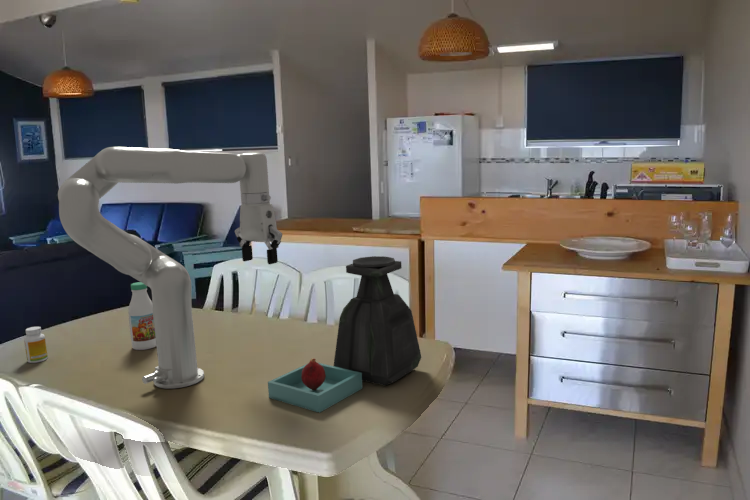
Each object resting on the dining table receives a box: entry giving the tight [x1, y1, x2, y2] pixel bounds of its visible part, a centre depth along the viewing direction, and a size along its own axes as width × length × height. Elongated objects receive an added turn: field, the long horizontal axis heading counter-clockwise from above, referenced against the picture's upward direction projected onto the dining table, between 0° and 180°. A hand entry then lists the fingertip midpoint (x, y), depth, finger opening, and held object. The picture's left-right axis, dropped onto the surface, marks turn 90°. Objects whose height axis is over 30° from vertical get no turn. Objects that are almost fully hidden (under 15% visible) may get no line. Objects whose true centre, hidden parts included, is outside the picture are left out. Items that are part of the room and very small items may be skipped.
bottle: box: [333, 255, 422, 387], centre depth 158 cm, size 18×16×30 cm
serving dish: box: [267, 362, 363, 413], centre depth 149 cm, size 16×16×4 cm
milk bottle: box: [127, 281, 157, 351], centre depth 189 cm, size 8×8×20 cm
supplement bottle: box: [23, 326, 49, 364], centre depth 181 cm, size 5×5×10 cm
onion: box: [301, 357, 326, 390], centre depth 149 cm, size 6×6×8 cm
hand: (260, 261), depth 168 cm, fingers open, 9 cm apart
